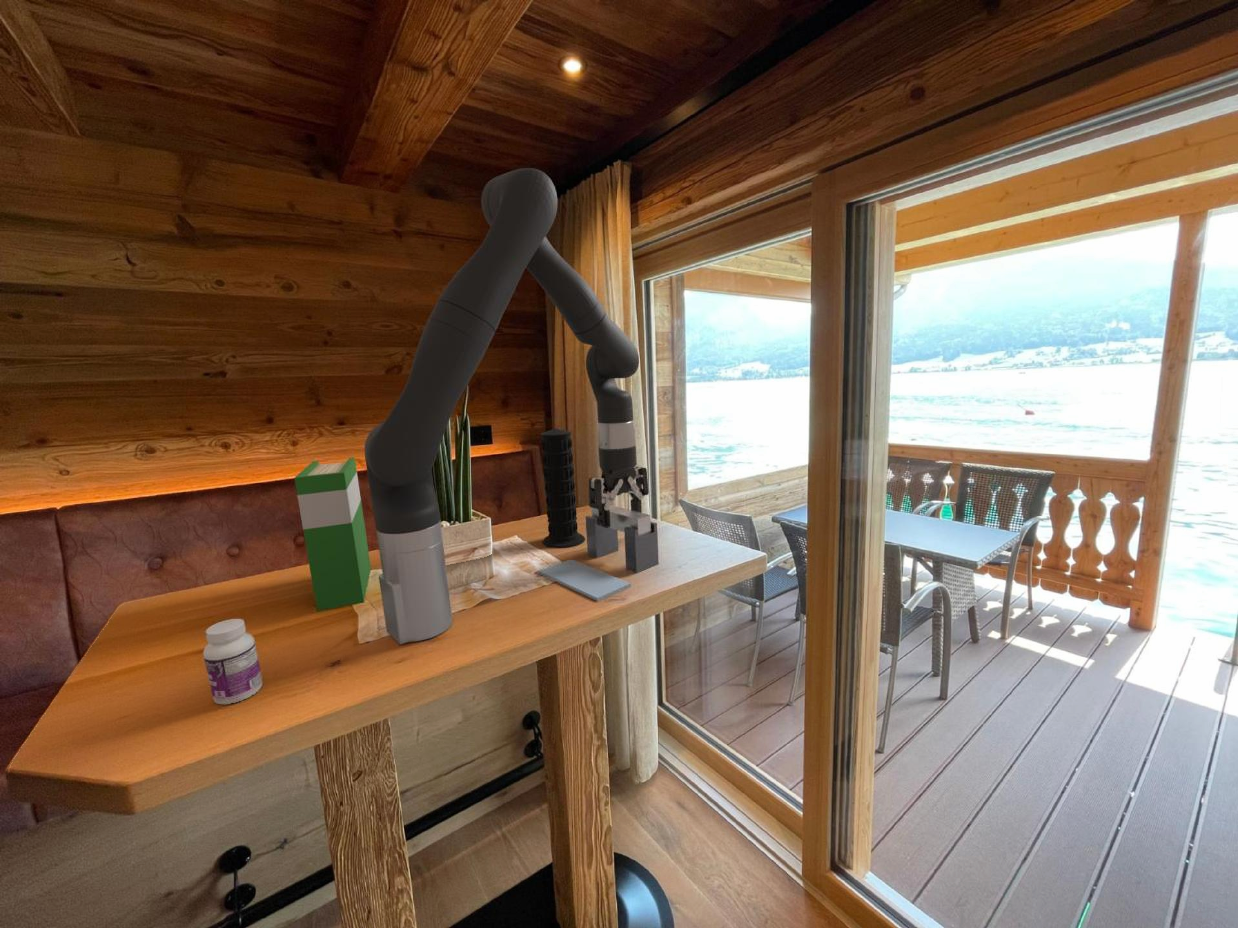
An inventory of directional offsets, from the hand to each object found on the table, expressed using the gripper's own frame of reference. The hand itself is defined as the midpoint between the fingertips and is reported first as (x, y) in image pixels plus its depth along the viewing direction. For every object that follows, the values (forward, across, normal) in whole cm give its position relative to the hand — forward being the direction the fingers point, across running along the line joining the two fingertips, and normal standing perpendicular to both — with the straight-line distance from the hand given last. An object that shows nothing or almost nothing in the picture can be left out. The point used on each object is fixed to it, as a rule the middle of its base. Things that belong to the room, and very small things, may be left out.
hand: (621, 521), depth 106 cm
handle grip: (+8, -1, +19) cm, 21 cm away
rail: (+1, 0, 0) cm, 1 cm away
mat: (+8, -12, -2) cm, 15 cm away
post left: (+8, 0, +6) cm, 10 cm away
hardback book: (+8, -45, +30) cm, 55 cm away
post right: (+8, 0, -6) cm, 10 cm away
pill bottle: (+8, -65, +4) cm, 66 cm away
